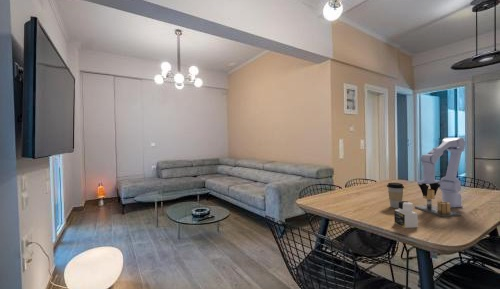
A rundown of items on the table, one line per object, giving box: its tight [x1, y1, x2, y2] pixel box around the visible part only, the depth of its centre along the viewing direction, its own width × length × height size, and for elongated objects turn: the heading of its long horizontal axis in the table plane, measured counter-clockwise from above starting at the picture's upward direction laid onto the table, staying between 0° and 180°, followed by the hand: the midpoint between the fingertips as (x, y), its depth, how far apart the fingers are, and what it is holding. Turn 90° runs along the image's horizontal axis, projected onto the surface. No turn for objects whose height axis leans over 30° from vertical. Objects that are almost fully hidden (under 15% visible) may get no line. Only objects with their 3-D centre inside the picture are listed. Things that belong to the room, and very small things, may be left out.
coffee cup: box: [386, 182, 405, 209], centre depth 148 cm, size 9×9×15 cm
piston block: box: [413, 199, 462, 218], centre depth 138 cm, size 12×18×6 cm, turn 9°
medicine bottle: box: [393, 200, 419, 229], centre depth 117 cm, size 7×7×12 cm
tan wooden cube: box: [422, 188, 436, 200], centre depth 142 cm, size 6×6×6 cm
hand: (429, 195), depth 142 cm, fingers closed on tan wooden cube, 6 cm apart
